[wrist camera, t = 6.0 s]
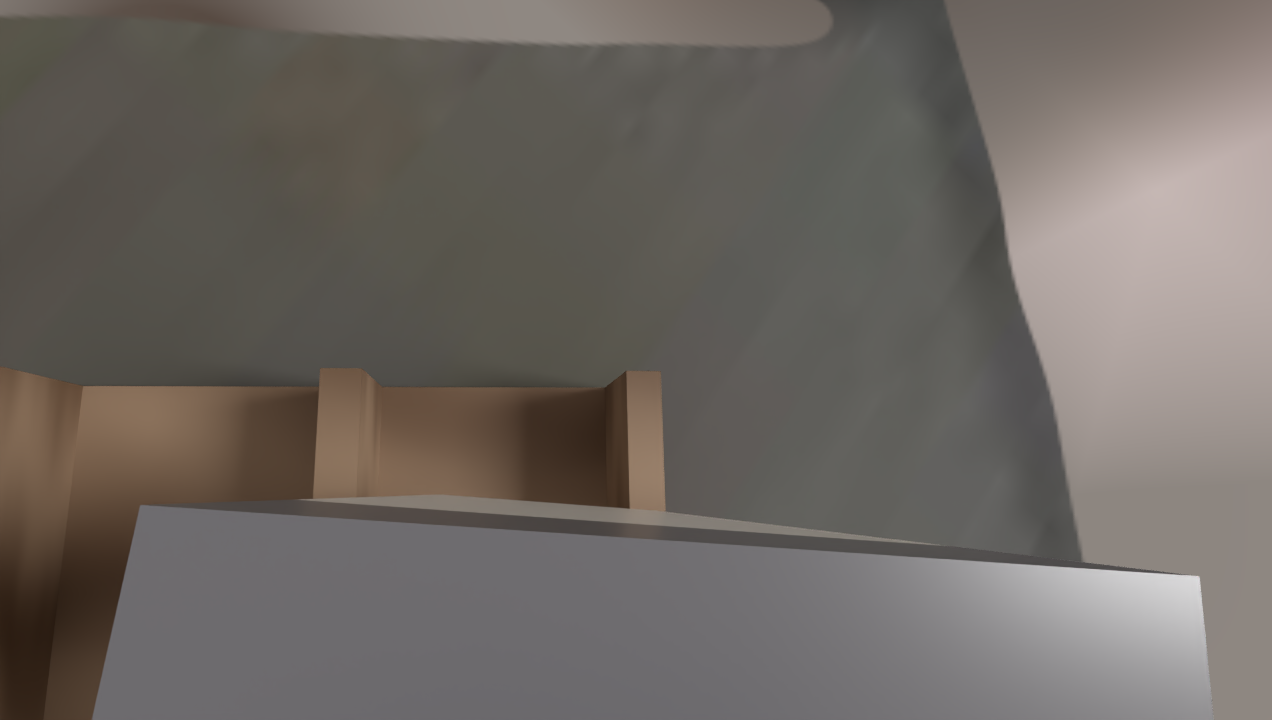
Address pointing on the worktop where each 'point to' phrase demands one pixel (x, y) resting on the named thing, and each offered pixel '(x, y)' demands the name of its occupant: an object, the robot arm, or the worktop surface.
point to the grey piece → (623, 620)
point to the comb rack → (264, 481)
